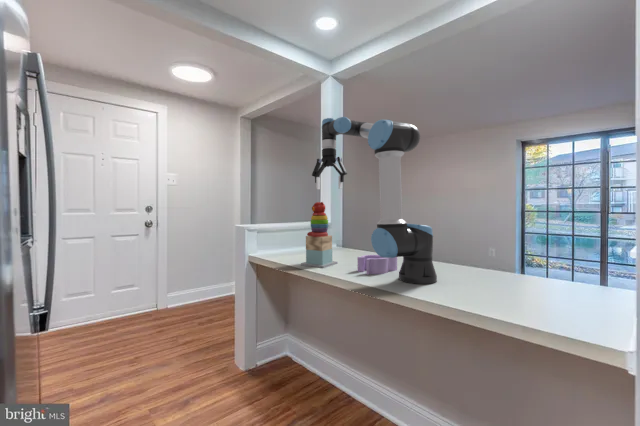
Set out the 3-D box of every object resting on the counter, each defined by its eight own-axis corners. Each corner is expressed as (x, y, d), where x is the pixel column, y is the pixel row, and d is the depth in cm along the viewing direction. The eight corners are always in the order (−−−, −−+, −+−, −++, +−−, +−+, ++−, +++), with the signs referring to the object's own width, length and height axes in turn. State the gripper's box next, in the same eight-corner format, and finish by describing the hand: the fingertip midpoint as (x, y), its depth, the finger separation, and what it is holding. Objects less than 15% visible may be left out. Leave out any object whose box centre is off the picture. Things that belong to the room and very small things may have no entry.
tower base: (337, 263, 169) (337, 248, 168) (323, 267, 157) (323, 251, 156) (315, 261, 176) (315, 246, 176) (300, 265, 164) (300, 249, 164)
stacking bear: (305, 235, 169) (305, 202, 168) (323, 234, 173) (323, 202, 173) (314, 237, 159) (314, 201, 159) (332, 236, 163) (332, 201, 163)
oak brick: (331, 248, 168) (332, 235, 168) (322, 251, 159) (322, 237, 159) (316, 247, 173) (316, 234, 173) (305, 249, 164) (305, 236, 164)
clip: (385, 266, 161) (385, 253, 161) (403, 270, 150) (403, 256, 150) (353, 270, 151) (353, 256, 151) (371, 275, 140) (371, 260, 140)
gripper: (353, 147, 164) (353, 188, 165) (313, 151, 177) (313, 189, 178) (346, 145, 158) (346, 187, 158) (305, 149, 171) (305, 189, 171)
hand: (329, 189), depth 168 cm, fingers open, 13 cm apart
